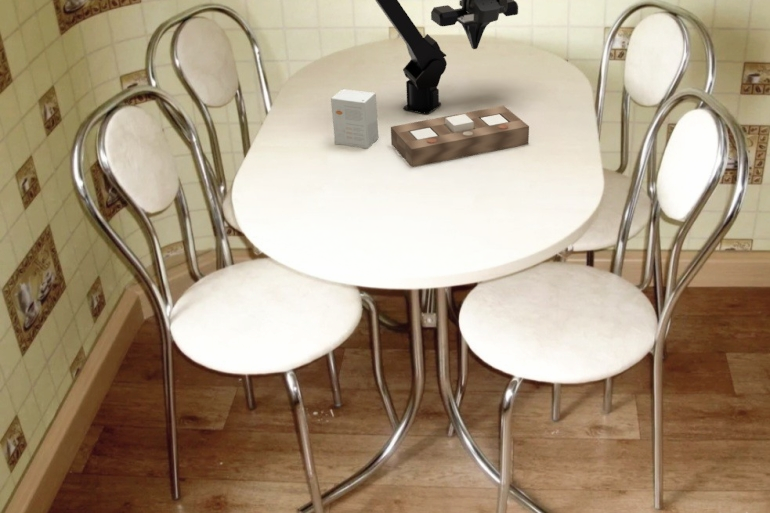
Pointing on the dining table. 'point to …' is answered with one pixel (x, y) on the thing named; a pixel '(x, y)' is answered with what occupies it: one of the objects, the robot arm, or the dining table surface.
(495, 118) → the key
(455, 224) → the dining table surface
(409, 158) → the key board
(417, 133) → the key
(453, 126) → the key mid
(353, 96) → the small box
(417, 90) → the robot arm
